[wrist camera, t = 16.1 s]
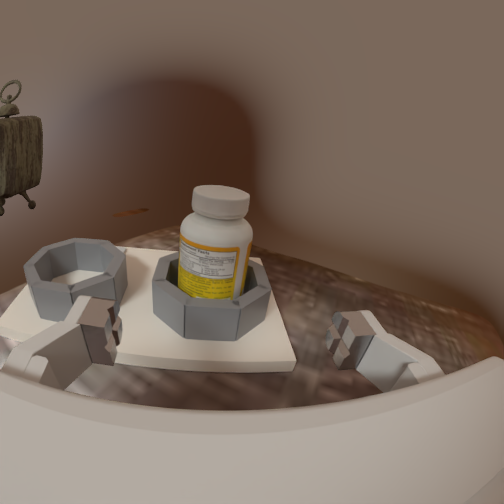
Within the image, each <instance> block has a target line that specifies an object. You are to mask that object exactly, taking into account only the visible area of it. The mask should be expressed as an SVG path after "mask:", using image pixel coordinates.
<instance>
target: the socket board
mask: <svg viewBox="0 0 504 504" xmlns="http://www.w3.org/2000/svg"><path fill="white" fill-rule="evenodd" d="M178 267H179V252H178V251H166V250H154V249H141V248H130V247H118V246H114V245H113V244H112V243H110V242H109V241H107V240H95V239H83V238H73V239H69V240H66V241H62V242H59V243H55V244H52V245H49V246H45V247H43V248H41V249H40V250H39V251H38V252H37V253H36V254H35V255H34V256H33V257H32V258H31V259H30V260H29V261H28V262H27V263H26V264H25V265H24V271H25V275H26V279H27V283H28V284H27V285H26V286H25V287H24V289H23V290H22V291H21V292H20V293H19V295H18V296H17V297H16V298H15V300H14V301H13V302H12V303H11V305H10V306H9V307H8V309H7V310H6V311H5V313H4V314H3V315H2V317H1V318H0V336H3V337H6V338H9V339H12V340H16V341H19V342H24V341H26V340H27V339H29V338H31V337H33V336H34V335H36V334H38V333H40V332H41V331H43V330H45V329H47V328H49V327H50V326H52V325H54V324H56V323H57V322H59V321H64V320H65V318H66V317H67V315H68V313H69V311H70V310H71V308H72V306H73V305H74V303H75V301H76V300H77V298H78V297H79V296H80V295H85V296H92V297H99V298H106V299H113V300H117V301H118V302H119V306H120V311H119V314H118V316H119V317H120V318H121V319H122V339H121V342H120V344H119V345H118V346H116V349H117V356H116V359H115V362H114V363H120V364H127V365H134V366H142V367H151V368H161V369H172V370H185V371H202V372H237V373H254V372H289V371H293V369H294V366H295V364H296V361H297V360H296V357H295V355H294V352H293V349H292V346H291V343H290V340H289V338H288V335H287V332H286V329H285V326H284V323H283V321H282V318H281V315H280V312H279V309H278V307H277V304H276V301H275V298H274V295H273V292H272V288H271V286H270V283H269V280H268V277H267V275H266V272H265V269H264V266H263V264H262V262H261V259H260V258H254V257H249V261H248V267H247V273H246V278H245V284H244V291H243V295H242V296H240V297H238V298H236V299H235V300H223V299H207V298H193V297H190V296H189V295H187V294H186V293H184V292H183V291H181V290H180V289H179V288H178Z"/></svg>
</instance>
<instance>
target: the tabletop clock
mask: <svg viewBox="0 0 504 504" xmlns="http://www.w3.org/2000/svg"><path fill="white" fill-rule="evenodd" d="M13 83H16V84H18V86H19V91H18V93H17V95H16V96H14V97H13V98H12V96H11V95H8V96H7V100H3V99H2V92H3V91H4V89H5V88H6V87H7V86H8V85H10V84H13ZM20 92H21V83H20V82H19V81H18V80H12V81H9V82H8V83H6V84H5V86H4V87H3V88H2V90H1V93H0V100H1V102H3V103H6V105H4V106H2V107H1V108H0V117H5V118H4V119H0V216H2V215H3V214H4V209H3V207H2V206H3V205H4V204H5V198H9V197H12V196H14V195H16V194H20V195H22V196H23V197H24V198H25V199H26V200H27V201H28V202H29V205H28V206H29V208H30V209H34V208H35V206H36V203H35V202H34V201H30V199H29V197H28V195H27V194H26V190H28V189H31V188H33V187H35V186H37V185H39V183H40V179H41V171H42V155H43V132H42V123H41V119H40V118H39V117H37V116H21V117H12V118H9V116H11V115H16V114H19V109H18V108H17V106H16V105H14V104H11V102H12V101H14V100H15V99H16V98H17V97H18V95H19V94H20Z"/></svg>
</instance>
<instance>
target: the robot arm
mask: <svg viewBox="0 0 504 504" xmlns="http://www.w3.org/2000/svg"><path fill="white" fill-rule="evenodd" d="M119 311H120V306H119V302H118V301H117V300H113V299H106V298H99V297H92V296H85V295H80V296H79V297H78V298H77V300H76V301H75V303H74V305H73V306H72V308H71V310H70V311H69V313H68V315H67V317H66V318H65V320H64V321H59V322H57V323H56V324H54V325H52V326H50V327H49V328H47V329H45V330H43V331H41V332H40V333H38V334H36V335H34V336H33V337H31V338H29V339H27V340H26V341H24V342H22V343H20V344H19V345H17V346H15V347H14V348H13V350H12V351H11V353H10V355H9V357H8V358H7V360H6V362H5V364H4V366H3V367H2V369H1V370H0V504H504V360H502V359H500V358H498V357H490V358H487V359H485V360H483V361H481V362H478V363H476V364H473V365H471V366H469V367H466V368H463V369H461V370H458V371H455V372H453V373H450V374H447V375H445V374H444V372H443V371H442V370H441V368H440V367H439V366H438V364H437V363H436V362H435V360H434V359H433V358H432V357H430V356H429V355H427V354H425V353H423V352H422V351H420V350H418V349H416V348H415V347H413V346H411V345H409V344H407V343H406V342H404V341H402V340H400V339H399V338H397V337H395V336H393V335H392V334H387V333H386V331H385V330H384V329H383V327H382V326H381V325H380V323H379V322H378V321H377V319H376V318H375V317H374V315H373V314H372V313H371V311H369V310H360V311H338V312H335V314H334V315H333V318H332V322H333V325H332V326H330V327H329V328H328V331H327V333H326V345H327V348H328V350H329V351H330V352H331V353H333V354H334V356H333V358H332V359H333V361H334V363H335V365H336V367H337V369H338V370H348V369H356V370H357V371H358V372H360V373H361V374H362V375H363V376H364V377H366V378H367V379H368V380H369V381H370V382H371V383H373V384H374V385H375V386H376V387H377V388H379V389H380V390H381V391H382V392H383V393H381V394H377V395H372V396H367V397H362V398H357V399H352V400H346V401H340V402H334V403H327V404H320V405H312V406H303V407H293V408H282V409H267V410H239V411H216V410H188V409H174V408H162V407H152V406H144V405H136V404H129V403H122V402H116V401H111V400H105V399H100V398H95V397H90V396H85V395H81V394H77V393H72V392H68V391H65V389H66V388H67V387H68V386H69V385H70V384H71V383H72V382H73V381H74V380H75V379H76V378H78V377H79V376H80V375H81V374H82V373H83V372H84V371H85V370H86V369H87V368H88V367H90V366H91V365H92V363H96V364H103V365H110V366H114V362H115V359H116V356H117V349H116V346H118V345H119V344H120V342H121V339H122V319H121V318H120V317H119V316H118V314H119Z"/></svg>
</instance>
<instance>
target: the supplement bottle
mask: <svg viewBox="0 0 504 504" xmlns="http://www.w3.org/2000/svg"><path fill="white" fill-rule="evenodd" d="M249 199H250V196H249V194H248V193H246V192H244V191H242V190H239V189H236V188H231V187H226V186H218V185H203V186H198V187H196V188H195V189H194V190H193V197H192V209H193V210H194V211H195V212H194V213H192V214H190V215H188V216H187V217H186V218H185V219H184V220H183V222H182V224H181V229H180V243H179V267H178V288H179V289H180V290H181V291H183V292H184V293H186V294H187V295H189V296H190V297H193V298H207V299H223V300H235V299H236V298H238V297H240V296H242V295H243V291H244V284H245V278H246V273H247V267H248V261H249V256H250V250H251V245H252V238H253V231H252V228H251V226H250V224H249V223H248V222H247V221H246V220H245V219H244V218H243V217H245V216H246V214H247V212H248V206H249Z"/></svg>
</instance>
